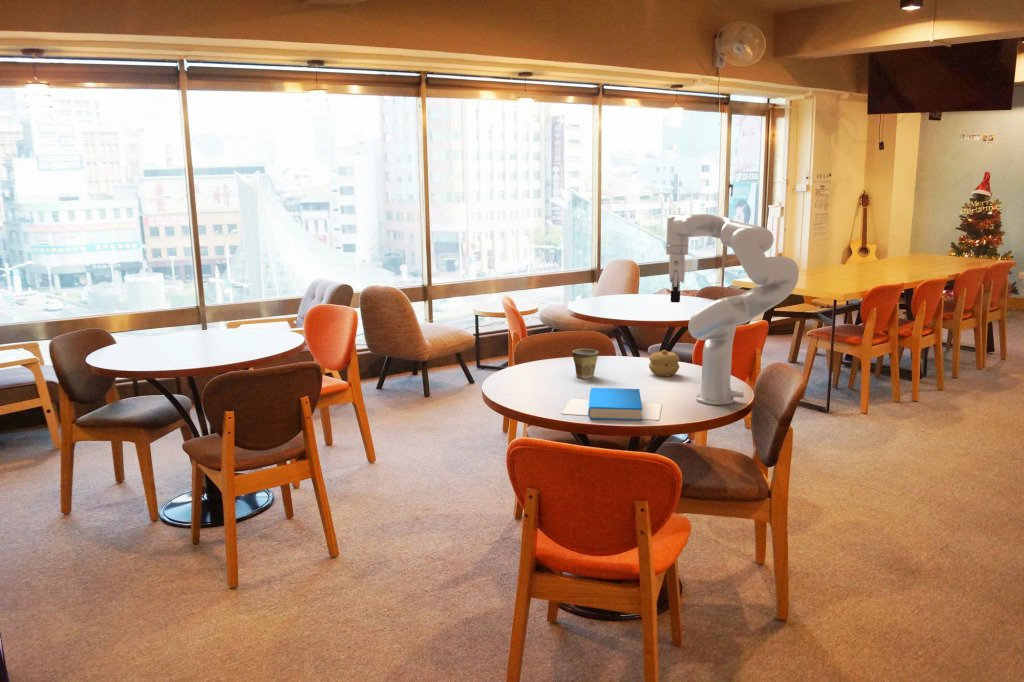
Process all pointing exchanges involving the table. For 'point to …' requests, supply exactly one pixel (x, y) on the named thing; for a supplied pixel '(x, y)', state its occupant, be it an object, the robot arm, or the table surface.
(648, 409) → the mat
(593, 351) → the ceramic cup
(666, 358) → the pot
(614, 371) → the table surface
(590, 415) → the book
